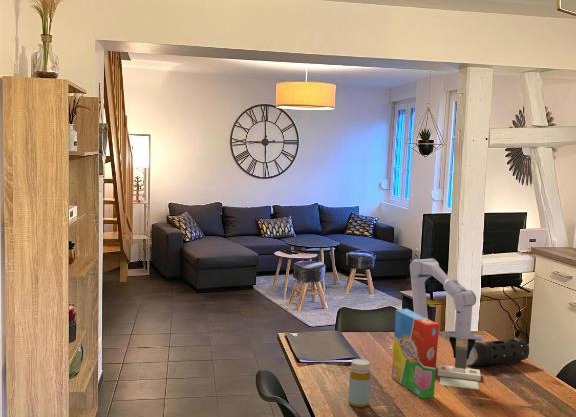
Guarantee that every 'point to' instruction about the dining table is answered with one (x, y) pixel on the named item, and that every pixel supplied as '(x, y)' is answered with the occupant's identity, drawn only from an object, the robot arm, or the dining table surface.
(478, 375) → the socket strip
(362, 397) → the bottle
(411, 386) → the game box
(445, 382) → the sage mat
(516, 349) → the muzzle brake
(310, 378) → the dining table surface
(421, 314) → the robot arm
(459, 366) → the block
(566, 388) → the dining table surface
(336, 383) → the dining table surface
